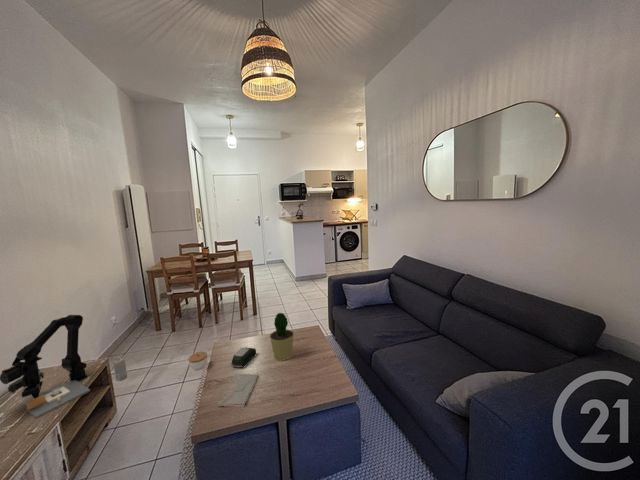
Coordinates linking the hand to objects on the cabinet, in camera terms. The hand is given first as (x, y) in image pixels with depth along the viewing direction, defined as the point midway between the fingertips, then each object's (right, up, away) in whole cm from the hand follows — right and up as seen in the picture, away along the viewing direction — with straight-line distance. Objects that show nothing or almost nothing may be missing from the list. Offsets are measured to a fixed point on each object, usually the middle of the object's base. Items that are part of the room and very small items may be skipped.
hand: (36, 398), depth 144 cm
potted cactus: (+128, +8, +33) cm, 132 cm away
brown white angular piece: (+6, -1, +1) cm, 6 cm away
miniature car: (+103, +6, +30) cm, 108 cm away
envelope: (+108, +3, +2) cm, 109 cm away
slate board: (+7, -2, +4) cm, 8 cm away
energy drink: (+33, +1, +18) cm, 37 cm away
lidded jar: (+76, +5, +25) cm, 80 cm away
